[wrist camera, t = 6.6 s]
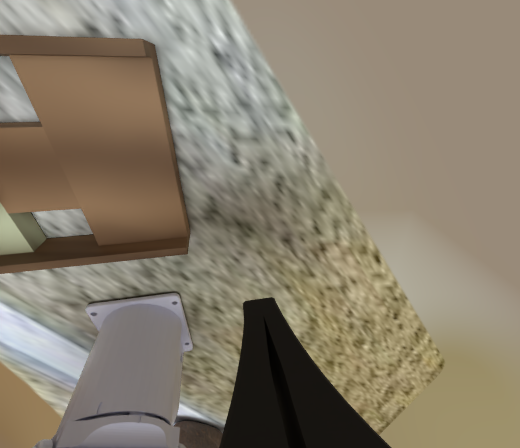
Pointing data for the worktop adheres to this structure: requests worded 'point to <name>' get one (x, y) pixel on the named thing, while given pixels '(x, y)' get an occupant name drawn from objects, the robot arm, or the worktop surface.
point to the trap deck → (89, 155)
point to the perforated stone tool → (198, 435)
